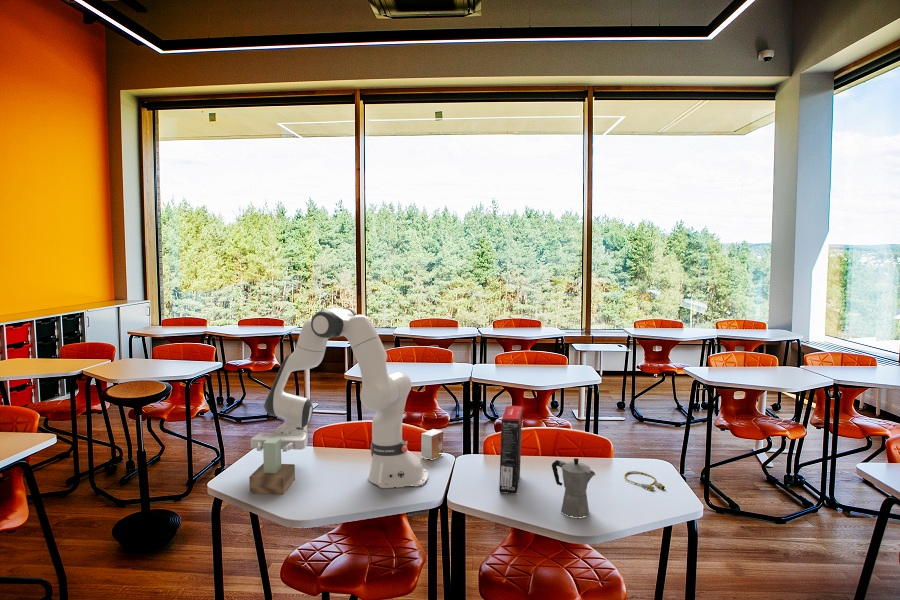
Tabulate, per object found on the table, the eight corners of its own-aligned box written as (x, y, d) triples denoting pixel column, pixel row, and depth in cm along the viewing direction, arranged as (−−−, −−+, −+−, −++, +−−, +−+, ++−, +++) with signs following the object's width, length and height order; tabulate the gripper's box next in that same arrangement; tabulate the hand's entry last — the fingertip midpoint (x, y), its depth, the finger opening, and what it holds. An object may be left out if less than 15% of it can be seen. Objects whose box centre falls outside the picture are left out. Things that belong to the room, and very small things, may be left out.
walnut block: (295, 479, 200) (294, 464, 200) (283, 494, 188) (282, 477, 188) (263, 479, 201) (263, 463, 200) (249, 493, 189) (249, 476, 188)
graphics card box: (503, 474, 206) (504, 404, 203) (521, 475, 205) (522, 405, 202) (498, 494, 189) (499, 418, 187) (518, 495, 188) (519, 419, 185)
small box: (431, 461, 219) (431, 436, 218) (421, 458, 222) (420, 433, 221) (443, 455, 225) (443, 431, 224) (433, 452, 228) (433, 428, 227)
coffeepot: (600, 512, 175) (601, 459, 174) (587, 523, 168) (588, 468, 167) (558, 498, 185) (559, 448, 184) (544, 508, 178) (545, 456, 177)
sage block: (281, 467, 196) (280, 438, 196) (276, 473, 192) (275, 443, 191) (269, 467, 197) (268, 438, 196) (263, 472, 192) (263, 442, 191)
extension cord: (631, 491, 193) (631, 486, 192) (620, 473, 208) (620, 468, 208) (666, 492, 192) (666, 487, 191) (652, 474, 207) (653, 469, 207)
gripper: (258, 427, 207) (242, 440, 193) (311, 428, 206) (298, 441, 192) (259, 443, 208) (243, 457, 194) (311, 444, 206) (299, 458, 193)
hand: (271, 449), depth 193 cm, fingers open, 8 cm apart
